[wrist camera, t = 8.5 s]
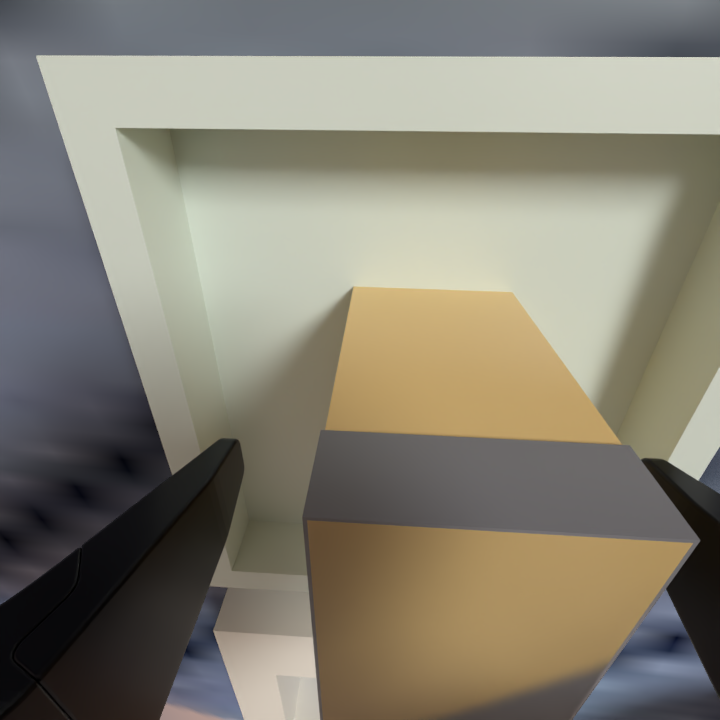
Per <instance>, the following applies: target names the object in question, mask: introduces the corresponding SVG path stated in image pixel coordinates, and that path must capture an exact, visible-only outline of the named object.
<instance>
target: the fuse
mask: <svg viewBox="0 0 720 720" xmlns="http://www.w3.org/2000/svg"><path fill="white" fill-rule="evenodd" d="M302 521H303V532H304V543H305V555H306V566H307V577H308V588H309V600H310V611H311V622H312V634H313V645H314V656H315V668H316V679H317V690H318V701H319V713H320V720H572V719H573V718H574V716H575V715H576V714H577V712H578V711H579V709H580V708H581V707H582V705H583V704H584V702H585V701H586V700H587V698H588V697H589V695H590V694H591V693H592V691H593V690H594V688H595V687H596V686H597V684H598V683H599V681H600V680H601V679H602V677H603V676H604V675H605V673H606V672H607V670H608V669H609V668H610V666H611V665H612V663H613V662H614V661H615V659H616V658H617V656H618V655H619V654H620V652H621V651H622V649H623V648H624V647H625V645H626V644H627V642H628V641H629V640H630V638H631V637H632V635H633V634H634V633H635V631H636V630H637V628H638V627H639V626H640V624H641V623H642V621H643V620H644V619H645V617H646V616H647V614H648V613H649V612H650V610H651V609H652V607H653V606H654V605H655V603H656V602H657V601H658V599H659V598H660V596H661V595H662V594H663V592H664V591H665V589H666V588H667V587H668V585H669V584H670V582H671V581H672V580H673V578H674V577H675V575H676V574H677V573H678V571H679V570H680V568H681V567H682V566H683V564H684V563H685V561H686V560H687V559H688V557H689V556H690V554H691V553H692V552H693V550H694V549H695V547H696V546H697V545H698V543H699V542H700V539H699V538H698V536H697V535H696V534H695V532H694V531H693V530H692V528H691V527H690V526H689V524H688V523H687V522H686V520H685V519H684V517H683V516H682V515H681V513H680V512H679V511H678V509H677V508H676V507H675V505H674V504H673V503H672V501H671V500H670V499H669V497H668V496H667V495H666V493H665V492H664V491H663V489H662V488H661V487H660V485H659V484H658V482H657V481H656V480H655V478H654V477H653V476H652V474H651V473H650V472H649V470H648V469H647V468H646V466H645V465H644V464H643V462H642V461H641V460H640V458H639V457H638V456H637V454H636V453H635V452H634V450H633V449H632V447H631V446H630V445H622V444H621V442H620V441H619V439H618V438H617V437H616V435H615V434H614V432H613V431H612V430H611V428H610V427H609V426H608V424H607V423H606V421H605V420H604V419H603V417H602V416H601V414H600V413H599V412H598V410H597V409H596V407H595V406H594V405H593V403H592V402H591V401H590V399H589V398H588V396H587V395H586V394H585V392H584V391H583V389H582V388H581V387H580V385H579V384H578V383H577V381H576V380H575V378H574V377H573V376H572V374H571V373H570V371H569V370H568V369H567V367H566V366H565V364H564V363H563V362H562V360H561V359H560V358H559V356H558V355H557V353H556V352H555V351H554V349H553V348H552V346H551V345H550V344H549V342H548V341H547V340H546V338H545V337H544V335H543V334H542V333H541V331H540V330H539V328H538V327H537V326H536V324H535V323H534V321H533V320H532V319H531V317H530V316H529V315H528V313H527V312H526V310H525V309H524V308H523V306H522V305H521V303H520V302H519V301H518V299H517V298H516V297H515V295H514V294H513V292H497V291H468V290H440V289H411V288H383V287H355V286H353V291H352V296H351V301H350V307H349V312H348V317H347V322H346V327H345V332H344V337H343V342H342V347H341V352H340V357H339V362H338V367H337V372H336V377H335V382H334V387H333V392H332V397H331V402H330V407H329V412H328V417H327V422H326V427H325V430H321V431H320V435H319V440H318V445H317V449H316V454H315V459H314V464H313V468H312V473H311V478H310V482H309V487H308V492H307V497H306V501H305V506H304V511H303V515H302Z"/></svg>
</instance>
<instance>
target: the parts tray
mask: <svg viewBox="0 0 720 720" xmlns="http://www.w3.org/2000/svg"><path fill="white" fill-rule="evenodd" d="M36 57H37V60H38V64H39V67H40V70H41V73H42V76H43V79H44V82H45V85H46V88H47V91H48V94H49V97H50V100H51V104H52V107H53V110H54V113H55V116H56V119H57V122H58V125H59V128H60V131H61V134H62V137H63V141H64V144H65V147H66V150H67V153H68V156H69V159H70V162H71V165H72V168H73V171H74V174H75V177H76V181H77V184H78V187H79V190H80V193H81V196H82V199H83V202H84V205H85V208H86V211H87V214H88V217H89V221H90V224H91V227H92V230H93V233H94V236H95V239H96V242H97V245H98V248H99V251H100V254H101V257H102V261H103V264H104V267H105V270H106V273H107V276H108V279H109V282H110V285H111V288H112V291H113V294H114V298H115V301H116V304H117V307H118V310H119V313H120V316H121V319H122V322H123V325H124V328H125V331H126V334H127V338H128V341H129V344H130V347H131V350H132V353H133V356H134V359H135V362H136V365H137V368H138V371H139V374H140V378H141V381H142V384H143V387H144V390H145V393H146V396H147V399H148V402H149V405H150V408H151V411H152V414H153V418H154V421H155V424H156V427H157V430H158V433H159V436H160V439H161V442H162V445H163V448H164V451H165V455H166V458H167V461H168V464H169V467H170V470H171V473H172V475H173V474H175V473H176V472H177V471H179V470H180V469H181V468H182V467H184V466H185V465H186V464H188V463H189V462H190V461H191V460H193V459H194V458H195V457H197V456H198V455H199V454H200V453H202V452H203V451H204V450H206V449H207V448H208V447H210V446H211V445H212V444H213V443H215V442H216V441H217V440H219V439H221V438H234V439H238V440H239V442H240V445H241V450H242V455H243V460H244V475H243V479H242V483H241V487H240V491H239V495H238V499H237V503H236V507H235V511H234V515H233V519H232V523H231V527H230V530H229V534H228V537H227V540H226V543H225V546H224V549H223V551H222V554H221V557H220V559H219V562H218V565H217V567H216V570H215V573H214V575H213V578H212V581H211V583H210V586H213V587H229V588H245V589H261V590H277V591H293V592H309V588H308V577H307V566H306V555H305V543H304V532H303V521H302V515H303V511H304V506H305V501H306V497H307V492H308V487H309V482H310V478H311V473H312V468H313V464H314V459H315V454H316V449H317V445H318V440H319V435H320V431H321V430H325V427H326V422H327V417H328V412H329V407H330V402H331V397H332V392H333V387H334V382H335V377H336V372H337V367H338V362H339V357H340V352H341V347H342V342H343V337H344V332H345V327H346V322H347V317H348V312H349V307H350V301H351V296H352V291H353V286H355V287H383V288H411V289H440V290H468V291H497V292H513V294H514V295H515V297H516V298H517V299H518V301H519V302H520V303H521V305H522V306H523V308H524V309H525V310H526V312H527V313H528V315H529V316H530V317H531V319H532V320H533V321H534V323H535V324H536V326H537V327H538V328H539V330H540V331H541V333H542V334H543V335H544V337H545V338H546V340H547V341H548V342H549V344H550V345H551V346H552V348H553V349H554V351H555V352H556V353H557V355H558V356H559V358H560V359H561V360H562V362H563V363H564V364H565V366H566V367H567V369H568V370H569V371H570V373H571V374H572V376H573V377H574V378H575V380H576V381H577V383H578V384H579V385H580V387H581V388H582V389H583V391H584V392H585V394H586V395H587V396H588V398H589V399H590V401H591V402H592V403H593V405H594V406H595V407H596V409H597V410H598V412H599V413H600V414H601V416H602V417H603V419H604V420H605V421H606V423H607V424H608V426H609V427H610V428H611V430H612V431H613V432H614V434H615V435H616V437H617V438H618V439H619V441H620V442H621V444H622V445H630V446H631V447H632V449H633V450H634V452H635V453H636V454H637V456H638V457H639V458H640V460H641V459H642V458H659V459H664V460H666V461H667V462H669V463H671V464H672V465H674V466H676V467H677V468H679V469H680V470H682V471H684V472H685V473H687V474H688V475H690V476H692V477H693V478H695V479H696V480H699V479H700V477H701V476H702V474H703V472H704V471H705V469H706V468H707V466H708V464H709V463H710V461H711V460H712V458H713V456H714V455H715V453H716V452H717V450H718V448H719V447H720V57H371V56H36Z"/></svg>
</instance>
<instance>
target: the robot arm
mask: <svg viewBox="0 0 720 720" xmlns="http://www.w3.org/2000/svg"><path fill="white" fill-rule="evenodd" d="M641 461H642V462H643V464H644V465H645V466H646V468H647V469H648V470H649V472H650V473H651V474H652V476H653V477H654V478H655V480H656V481H657V482H658V484H659V485H660V487H661V488H662V489H663V491H664V492H665V493H666V495H667V496H668V497H669V499H670V500H671V501H672V503H673V504H674V505H675V507H676V508H677V509H678V511H679V512H680V513H681V515H682V516H683V517H684V519H685V520H686V522H687V523H688V524H689V526H690V527H691V528H692V530H693V531H694V532H695V534H696V535H697V536H698V538H699V539H700V542H699V543H698V545H697V546H696V547H695V549H694V550H693V552H692V553H691V554H690V556H689V557H688V559H687V560H686V561H685V563H684V564H683V566H682V567H681V568H680V570H679V571H678V573H677V574H676V575H675V577H674V578H673V580H672V581H671V582H670V584H669V585H668V587H667V588H666V590H667V592H668V594H669V596H670V598H671V600H672V602H673V604H674V606H675V609H676V611H677V613H678V615H679V617H680V619H681V621H682V623H683V625H684V627H685V629H686V631H687V633H688V635H689V637H690V639H691V642H692V644H693V646H694V648H695V650H696V652H697V654H698V656H699V658H700V660H701V662H702V664H703V666H704V668H705V670H706V672H707V675H708V677H709V679H710V681H711V683H712V685H713V687H714V689H715V691H716V693H717V695H718V697H719V699H720V494H719V493H717V492H716V491H714V490H712V489H711V488H709V487H708V486H706V485H704V484H703V483H701V482H700V481H698V480H696V479H695V478H693V477H692V476H690V475H688V474H687V473H685V472H684V471H682V470H680V469H679V468H677V467H676V466H674V465H672V464H671V463H669V462H667V461H666V460H664V459H659V458H642V459H641ZM243 475H244V460H243V455H242V450H241V445H240V442H239V440H238V439H234V438H221V439H219V440H217V441H216V442H215V443H213V444H212V445H211V446H210V447H208V448H207V449H206V450H204V451H203V452H202V453H200V454H199V455H198V456H197V457H195V458H194V459H193V460H191V461H190V462H189V463H188V464H186V465H185V466H184V467H182V468H181V469H180V470H179V471H177V472H176V473H175V474H173V475H172V476H171V477H169V478H168V479H167V480H166V481H164V482H163V483H162V484H160V485H159V486H158V487H157V488H155V489H154V490H153V491H151V492H150V493H149V494H148V495H146V496H145V497H144V498H142V499H141V500H140V501H138V502H137V503H136V504H135V505H133V506H132V507H131V508H129V509H128V510H127V511H126V512H124V513H123V514H122V515H120V516H119V517H118V518H116V519H115V520H114V521H113V522H111V523H110V524H109V525H107V526H106V527H105V528H104V529H102V530H101V531H100V532H98V533H97V534H96V535H95V536H93V537H92V538H91V539H89V540H88V541H87V542H85V543H84V544H83V545H82V548H78V549H76V550H75V551H74V552H72V553H71V554H70V555H68V556H67V557H66V558H65V559H63V560H62V561H61V562H59V563H58V564H57V565H55V566H54V567H53V568H51V569H50V570H49V571H47V572H46V573H45V574H43V575H42V576H41V577H39V578H38V579H37V580H35V581H34V582H33V583H31V584H30V585H29V586H27V587H26V588H24V589H23V590H21V591H20V592H19V593H17V594H16V595H14V596H13V597H11V598H10V599H9V600H7V601H6V602H4V603H3V604H1V605H0V720H160V717H161V714H162V711H163V709H164V706H165V704H166V701H167V698H168V696H169V693H170V690H171V688H172V685H173V682H174V680H175V677H176V674H177V672H178V669H179V666H180V663H181V661H182V658H183V655H184V653H185V650H186V647H187V645H188V642H189V639H190V637H191V634H192V631H193V629H194V626H195V623H196V621H197V618H198V615H199V613H200V610H201V607H202V605H203V602H204V599H205V597H206V594H207V591H208V589H209V586H210V583H211V581H212V578H213V575H214V573H215V570H216V567H217V565H218V562H219V559H220V557H221V554H222V551H223V549H224V546H225V543H226V540H227V537H228V534H229V530H230V527H231V523H232V519H233V515H234V511H235V507H236V503H237V499H238V495H239V491H240V487H241V483H242V479H243Z"/></svg>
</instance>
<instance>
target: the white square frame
mask: <svg viewBox="0 0 720 720" xmlns="http://www.w3.org/2000/svg"><path fill="white" fill-rule="evenodd" d="M213 632H214V634H215V637H216V640H217V643H218V646H219V649H220V652H221V655H222V657H223V660H224V663H225V666H226V669H227V672H228V675H229V678H230V680H231V683H232V686H233V689H234V692H235V695H236V698H237V700H238V703H239V706H240V709H241V712H242V715H243V718H244V720H320V713H319V701H318V690H317V679H316V668H315V656H314V645H313V634H312V622H311V611H310V600H309V592H293V591H277V590H261V589H245V588H229V587H228V589H227V592H226V594H225V597H224V600H223V603H222V606H221V609H220V612H219V615H218V618H217V621H216V624H215V627H214V630H213Z"/></svg>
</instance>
